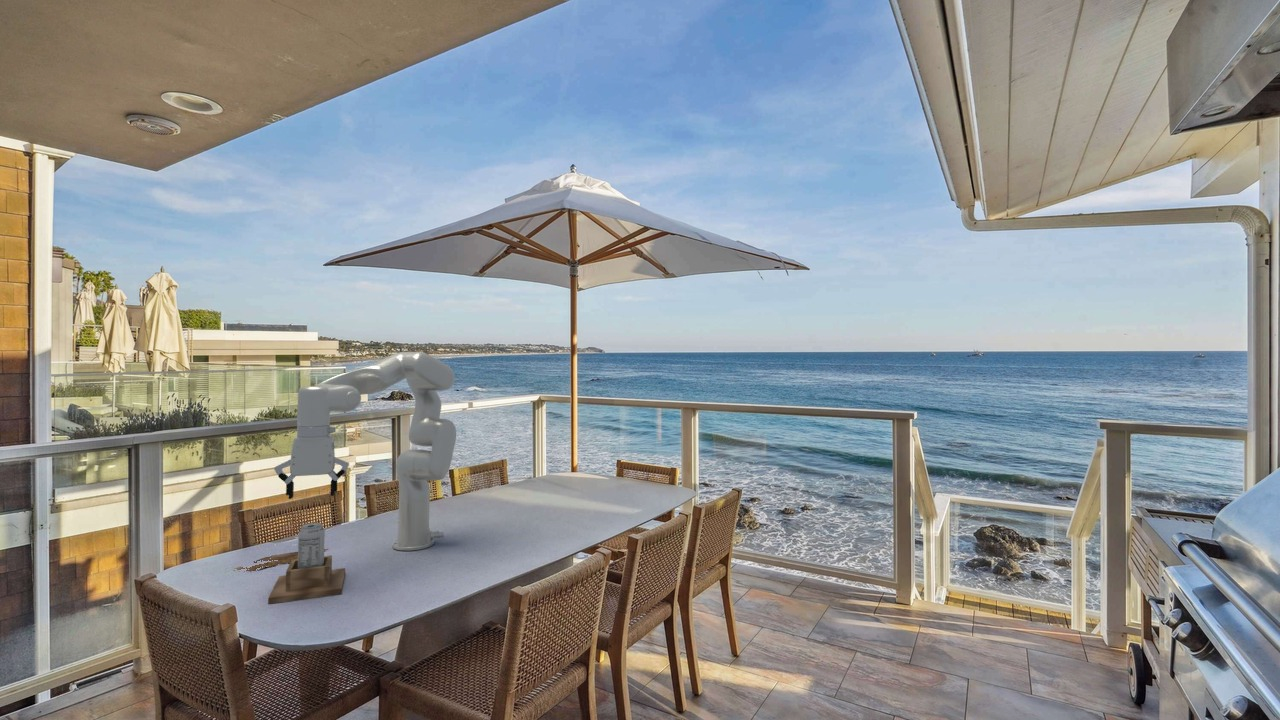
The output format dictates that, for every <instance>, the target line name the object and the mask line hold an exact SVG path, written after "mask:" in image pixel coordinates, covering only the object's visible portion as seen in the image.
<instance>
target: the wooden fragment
mask: <svg viewBox="0 0 1280 720" xmlns="http://www.w3.org/2000/svg"><path fill="white" fill-rule="evenodd" d="M326 550H327V551H329V548H324V552H327V551H326ZM270 558H271V559H270ZM295 559H298V551H294V552H287V553H280V554H274V555H270V556H264V557H262V558H260V559H257V560H254V561H253V562H254V563H257V561H260V560H261V562H262V560H263V561H268V560H269V561H271V562H267V563H264V564H259V565H255V566H252V567H250V568H247V567H246V569H247V570H246V571H250V572H251V571H256V569H257V568H260V567H261V570H263V569H264V568H265V567H266V566H268V568H273V567H276V566H279V565H278V564H282V565H285V563H289V564H290V562H291V560H295ZM272 560H273V561H272ZM274 560H278V561H274ZM255 561H256V562H255ZM262 566H263V568H262ZM272 566H273V567H272ZM233 569H237V570H241V569H245V568H243V567H241V566H238V567H234V568H233ZM248 569H249V570H248ZM265 569H266V568H265ZM257 570H258V569H257ZM256 572H257V571H256Z"/></svg>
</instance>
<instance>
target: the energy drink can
mask: <svg viewBox="0 0 1280 720" xmlns="http://www.w3.org/2000/svg"><path fill="white" fill-rule="evenodd" d="M325 531H326V530H325V529H324V527H323V523H321V522H311V523H306V524H303V525H301V529H300V530H299V532H298V541H297V542H298V543H297V544H298V545H297V546H298V547H297V549H298V550H297V552H298V569H302V568H311V567H320V566H324V556H325V551H324V549H325V534H326V533H325Z"/></svg>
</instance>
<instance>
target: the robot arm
mask: <svg viewBox="0 0 1280 720" xmlns="http://www.w3.org/2000/svg"><path fill="white" fill-rule="evenodd" d="M403 380H406V383H407V385H408V387H409V388H410V389H411V392H412V394H413V397H414V399H415V400H414V403H415V404H414V409H413V414H412V418H411V423H410V427H409V432H408V440H409V442H410V443H411V444H412V445H415V446H420V447H431V450H428V449H418V448H417V449H407V450H405V451H403V452H401V453H400V454H399V455H398V457H397V459H396V464H395V465H396V467H395V468H396V473H397V479H398V523H397V524H398V525H397V527H398V528H397V529H398V530H397V531H398V532H397V533H398V535H397V540H395V541H394V542H393V543H392V549H395V550H397V551H403V552H404V551H405V552H406V551H418V550H423V549H427V548H430V547H431V546H433V545H434V541H435V540H434V539H436V538H437V539H441V538H442V539H443V538H444V533H445V532H444V531H440V530H434V531H432V530H431V529H430V506H431V505H430V501H431V500H430V497H431V493H430V492H431V489H430V486H429V483H428V481H437V482H438V481H441V480H443V479H444V478H445V477H446V476H447V475H448V473H449V471H450V467H451V464H452V459H453V454H454V450H455V446H456V445H455V444H456V440H457V429H456V425H455V424H454V422H453V421H451V420H450V419H447V418H440V417H441V412H442V400H441V398H440V396H439V393H438V392H437V391H439V392H440V391H443V392H444V391H447V390H449V389H451V388H452V387H453V385H454V384H455V380H456V377H455V373H454V370H453V369H452V368H451V367H450V366H449V365H447V363H444V362H442V361H440V360H439V359H437V358H436V357H433V356H431V355H430V354H428V353H425V352H422V351H421V352H420V351H401V352H396V353H393V354H392V355H389V356H386V357H385V358H383V359H381V360H379V361H376V362H375V363H373V364H371V365H369V366H366V367H365V366H364V367H361V368H358V369H355V370H351V371H347V372H345V373H341V374H338V375H335V376H333V377H330V378H328V379H326V380H324V381H322V382H318V383H317V384H316V385H309V386H301V387H300V388H299V389H298V391H297V416H296V417H297V420H296V421H297V426H296V437H294V438H293V441H292V444H291V445H292V446H291V452H290V459H288V460H287V461H284V462H282V463H280V464H278V465H275V467H274V468H273V470H274V471H275V473H276V475H277V477H278V478H279V479H281V481H283V482H284V484H286V485H285V487H286V488H285V496H288V500H291V499H293V498H294V496H295V495H294V494H295V492H294V489H295V488H294V485H295V483H294V481H293V480H294V479H295V477H306V476H307V477H308V476H323V475H328V476H329V477H330V479H331V481H330V496H331V497H334V496H335V493H337V492H338V480H339V479H341V477H342V476H343V475H344V474H345V473H346V471H347V469H348V467H350V463H349V462H348V461H346V460H343V459H340V458H338V457H336V453H335V443H334V438H333V436H331V435H330V434H332V433H336V429H337V428H336V427H333V426H330V425H331V423H330V421H331V415H330V414H331V412H338V413H339V412H341V413H348V412H350V411H353V410H355V409H357V408H358V406H359V405H360V404H361V401H362V395H370V394H372V395H373V394H375V393H381V392H383V391H385V390H387V389H389V388H390V387H392V386H394V385H396V384H398V383H400V382H401V381H403ZM336 464H337V465H339V466H341V469H340V470H339V471H338V472H336V471H335V465H336ZM287 467H289V476H288V475H287V474H286V473H285V472H284V470H283V469H285V468H287Z"/></svg>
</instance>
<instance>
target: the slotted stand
mask: <svg viewBox="0 0 1280 720" xmlns="http://www.w3.org/2000/svg"><path fill="white" fill-rule="evenodd" d="M332 565H333V555H324V566H320V567H311V568H302V569H298V559H295V560H291V562H290V563H289V564H288V566H287V569H286V571H285V575H279V576H278V577H277V579H276V582H275V584H274V586H273V587H272V590H271V592H270V594H269V596H268V597H267V599H268V601H267V603H268V605H271V604H279V603H286V602H294V601H293V600H295V601H300V600H299V599H302V600H307V599H308V600H309V599H316V598H323V597H329V596H330V597H331V596H338V595H342V593H343V587H344V581H345V576H346V568H336V569H332V567H333V566H332Z"/></svg>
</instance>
